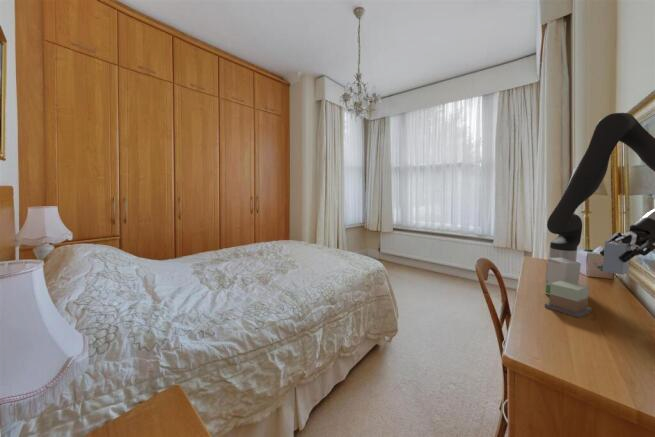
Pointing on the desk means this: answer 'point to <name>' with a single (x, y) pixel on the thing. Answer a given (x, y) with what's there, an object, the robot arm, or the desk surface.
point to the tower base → (569, 298)
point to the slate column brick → (615, 258)
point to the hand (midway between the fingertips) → (611, 257)
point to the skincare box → (561, 272)
